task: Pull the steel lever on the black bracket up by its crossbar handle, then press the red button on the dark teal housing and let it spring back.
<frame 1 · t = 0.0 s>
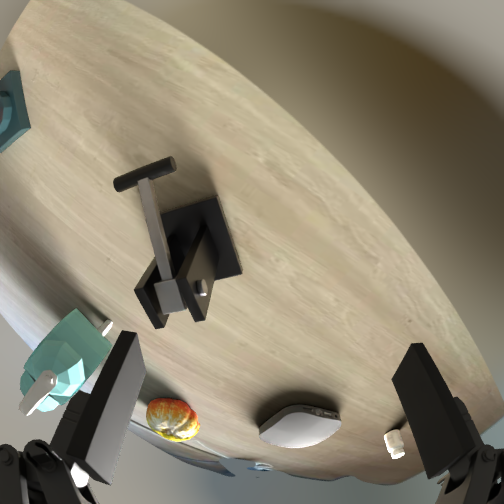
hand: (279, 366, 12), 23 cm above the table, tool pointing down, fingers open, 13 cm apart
bracket: (195, 243, 35), on the table
lever: (158, 237, 24), point 9 cm above the table, hinge at -20.0°
button box: (8, 112, 26), on the table
media streaming box: (299, 422, 53), on the table
alarm clock: (86, 326, 42), on the table
fruit: (174, 408, 51), on the table
pill bottle: (391, 432, 58), on the table
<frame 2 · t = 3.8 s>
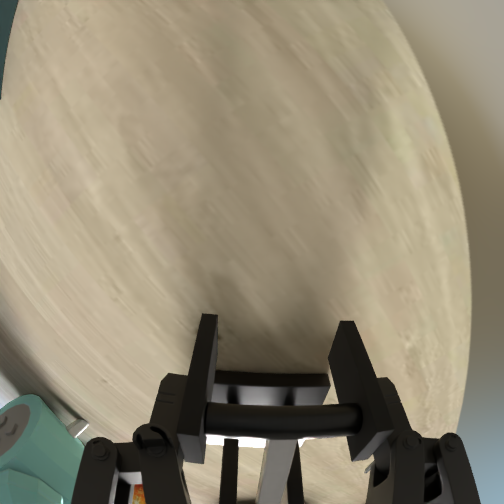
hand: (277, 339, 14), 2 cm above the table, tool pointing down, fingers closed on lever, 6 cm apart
bracket: (258, 410, 21), on the table
lever: (268, 499, 10), point 9 cm above the table, hinge at -20.0°, touching gripper
alarm clock: (48, 408, 24), on the table
fruit: (136, 483, 34), on the table
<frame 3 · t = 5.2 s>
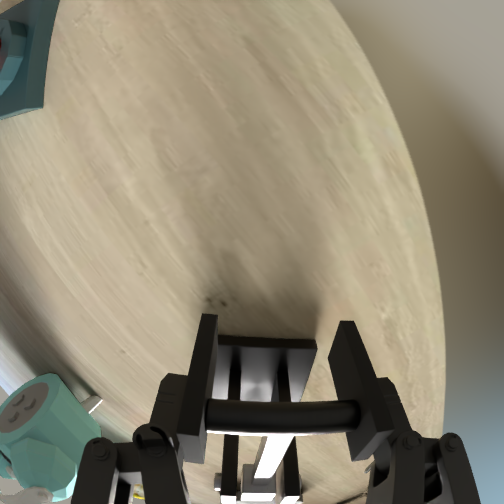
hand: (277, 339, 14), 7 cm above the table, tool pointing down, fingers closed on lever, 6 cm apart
bracket: (256, 375, 25), on the table
lever: (266, 463, 13), point 11 cm above the table, hinge at 3.5°, touching gripper
button box: (16, 61, 13), on the table
media streaming box: (262, 495, 44), on the table
alarm clock: (64, 387, 28), on the table
fruit: (142, 466, 39), on the table
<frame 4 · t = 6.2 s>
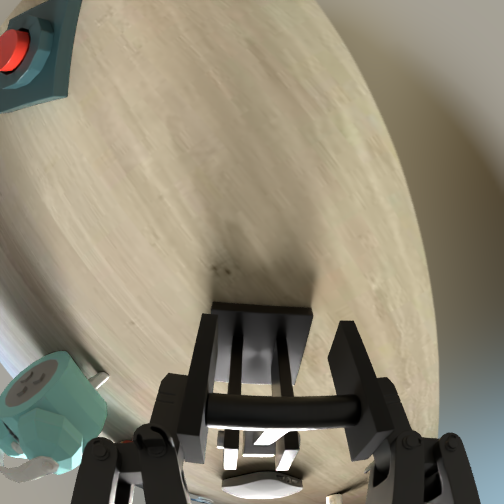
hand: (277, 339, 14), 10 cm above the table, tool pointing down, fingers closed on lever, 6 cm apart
bracket: (257, 344, 28), on the table
lever: (266, 432, 14), point 13 cm above the table, hinge at 20.6°, touching gripper
button box: (41, 54, 15), on the table
media streaming box: (262, 481, 47), on the table
alarm clock: (71, 366, 31), on the table
pill bottle: (333, 495, 56), on the table
button: (9, 50, 11), point 4 cm above the table, slide at 0.1 cm
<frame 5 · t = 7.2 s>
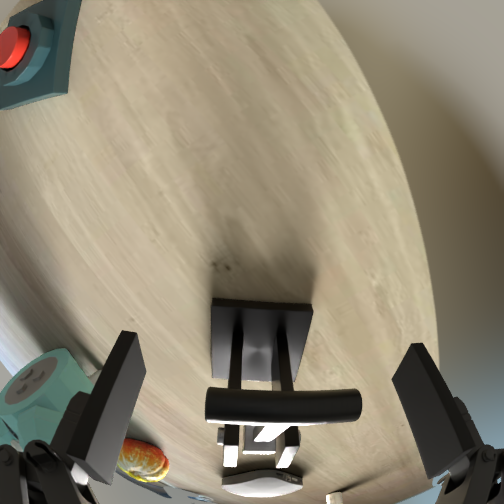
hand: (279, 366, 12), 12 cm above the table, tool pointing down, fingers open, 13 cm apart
bracket: (257, 341, 28), on the table
lever: (267, 428, 14), point 13 cm above the table, hinge at 20.5°
button box: (41, 51, 15), on the table
media streaming box: (262, 479, 47), on the table
alarm clock: (71, 363, 31), on the table
fruit: (144, 448, 42), on the table
pill bottle: (333, 493, 56), on the table
button: (10, 47, 11), point 4 cm above the table, slide at 0.1 cm
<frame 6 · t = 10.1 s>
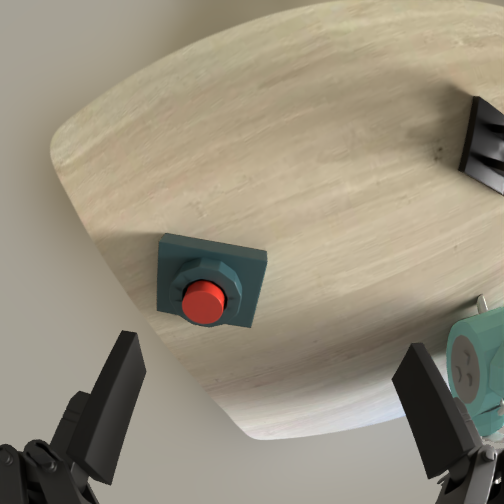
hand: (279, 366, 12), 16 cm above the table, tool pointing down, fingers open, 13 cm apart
bracket: (493, 149, 22), on the table
button box: (210, 276, 29), on the table
alarm clock: (462, 328, 33), on the table
button: (203, 302, 25), point 4 cm above the table, slide at 0.1 cm
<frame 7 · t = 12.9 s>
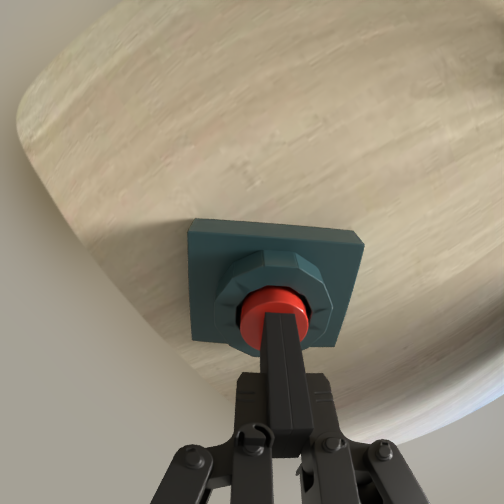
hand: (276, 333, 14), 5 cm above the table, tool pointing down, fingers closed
button box: (269, 280, 19), on the table
button: (273, 318, 15), point 4 cm above the table, slide at -0.3 cm, touching gripper
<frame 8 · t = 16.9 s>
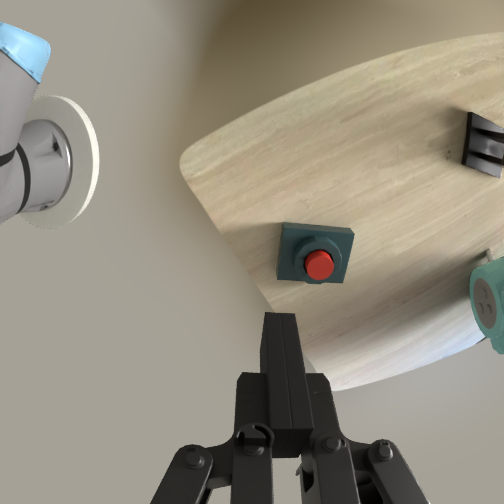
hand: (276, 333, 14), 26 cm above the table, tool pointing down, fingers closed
bracket: (484, 145, 33), on the table
button box: (313, 250, 42), on the table
alarm clock: (478, 276, 44), on the table
button: (319, 265, 38), point 4 cm above the table, slide at 0.1 cm
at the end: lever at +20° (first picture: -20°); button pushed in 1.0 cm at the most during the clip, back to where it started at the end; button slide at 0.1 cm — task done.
